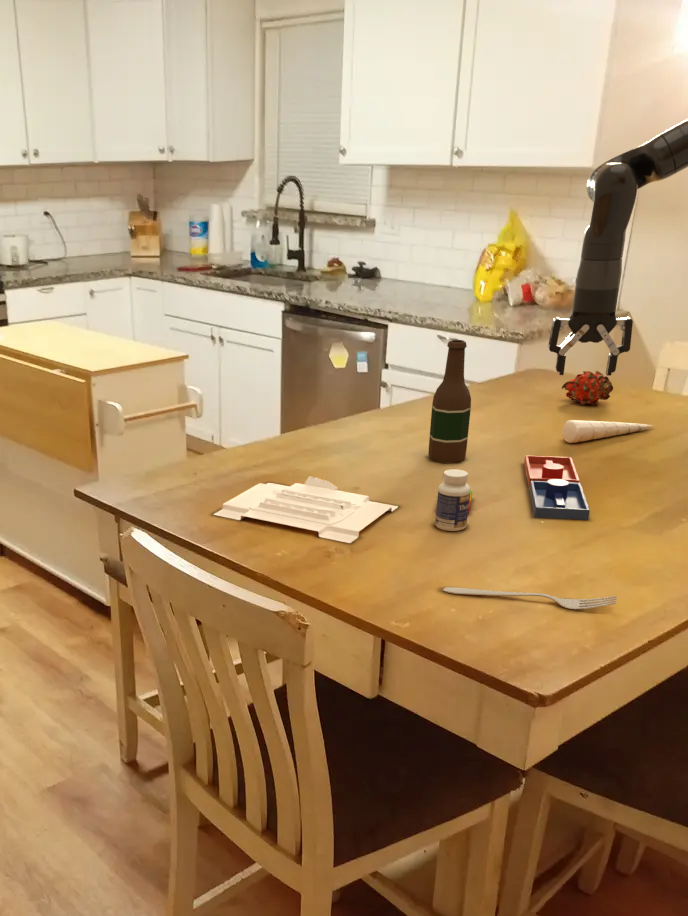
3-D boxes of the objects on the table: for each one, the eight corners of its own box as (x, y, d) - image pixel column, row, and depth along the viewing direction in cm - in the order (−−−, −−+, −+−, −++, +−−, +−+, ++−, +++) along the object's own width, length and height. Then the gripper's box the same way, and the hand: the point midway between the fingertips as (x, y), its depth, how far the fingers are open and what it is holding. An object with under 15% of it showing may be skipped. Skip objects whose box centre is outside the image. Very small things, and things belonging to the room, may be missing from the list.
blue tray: (579, 492, 179) (580, 482, 178) (588, 520, 167) (589, 510, 166) (529, 490, 181) (530, 480, 180) (534, 517, 168) (536, 507, 168)
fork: (444, 585, 145) (445, 575, 144) (614, 605, 137) (616, 594, 136) (441, 594, 142) (442, 583, 141) (615, 615, 135) (617, 604, 134)
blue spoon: (544, 492, 178) (546, 478, 177) (565, 493, 177) (567, 479, 176) (549, 511, 170) (551, 497, 168) (571, 513, 169) (573, 498, 167)
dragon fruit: (612, 413, 231) (561, 414, 238) (618, 386, 235) (567, 388, 241) (609, 389, 225) (556, 391, 231) (615, 362, 228) (563, 365, 234)
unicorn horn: (664, 432, 211) (668, 411, 208) (573, 446, 204) (576, 424, 202) (649, 427, 215) (653, 406, 212) (559, 440, 208) (562, 418, 206)
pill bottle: (461, 534, 163) (467, 479, 158) (430, 529, 165) (435, 475, 160) (470, 523, 167) (476, 470, 162) (440, 518, 169) (445, 466, 165)
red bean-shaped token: (562, 483, 182) (564, 469, 181) (541, 482, 183) (543, 468, 182) (557, 467, 191) (559, 453, 190) (537, 466, 192) (539, 452, 191)
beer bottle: (463, 465, 195) (475, 345, 184) (424, 462, 198) (434, 344, 186) (467, 454, 201) (479, 337, 190) (430, 451, 204) (440, 336, 193)
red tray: (570, 466, 193) (571, 457, 192) (578, 489, 180) (579, 480, 179) (524, 464, 195) (525, 455, 194) (528, 487, 182) (529, 478, 181)
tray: (351, 543, 160) (351, 522, 159) (212, 520, 175) (211, 501, 173) (399, 506, 175) (399, 487, 174) (268, 487, 190) (267, 469, 188)
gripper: (558, 288, 171) (547, 379, 179) (643, 287, 168) (627, 379, 176) (554, 282, 177) (543, 369, 185) (635, 280, 174) (621, 370, 182)
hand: (584, 374), depth 180 cm, fingers open, 8 cm apart
